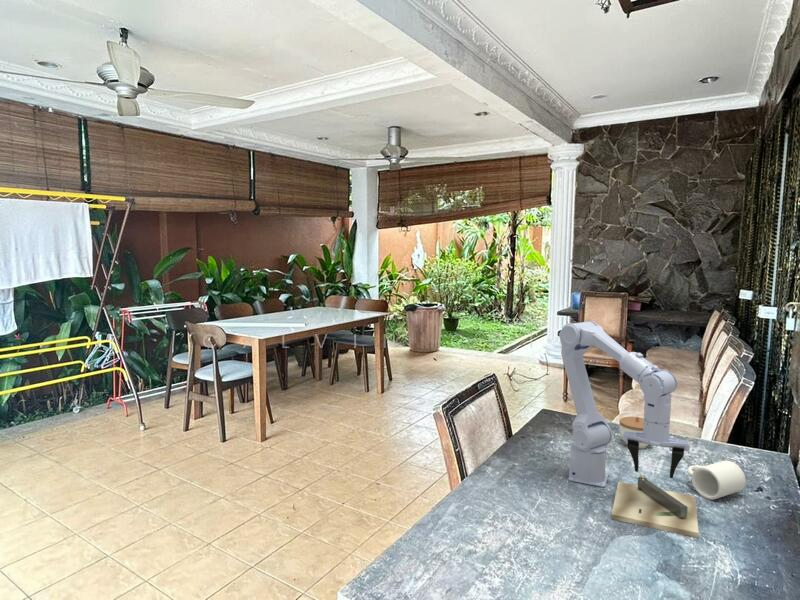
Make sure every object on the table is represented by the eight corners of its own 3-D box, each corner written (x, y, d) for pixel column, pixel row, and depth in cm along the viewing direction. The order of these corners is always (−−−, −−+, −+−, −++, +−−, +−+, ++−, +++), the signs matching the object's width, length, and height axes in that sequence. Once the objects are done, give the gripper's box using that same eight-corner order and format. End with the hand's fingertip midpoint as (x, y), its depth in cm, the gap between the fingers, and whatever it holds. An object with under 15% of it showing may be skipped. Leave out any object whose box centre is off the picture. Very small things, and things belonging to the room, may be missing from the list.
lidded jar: (658, 444, 168) (660, 416, 167) (648, 454, 160) (650, 425, 159) (624, 436, 175) (625, 409, 174) (613, 445, 167) (614, 417, 166)
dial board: (611, 518, 122) (611, 513, 122) (617, 485, 139) (618, 481, 139) (698, 538, 114) (698, 532, 114) (694, 500, 131) (694, 495, 131)
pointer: (679, 518, 119) (680, 504, 119) (635, 487, 135) (636, 474, 135) (688, 517, 120) (688, 503, 120) (643, 486, 136) (643, 474, 135)
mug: (745, 496, 133) (747, 467, 132) (720, 505, 129) (722, 474, 128) (701, 478, 144) (702, 450, 143) (676, 485, 139) (678, 457, 139)
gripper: (622, 420, 125) (620, 473, 126) (691, 430, 118) (687, 486, 120) (625, 411, 131) (622, 462, 133) (690, 421, 124) (687, 474, 126)
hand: (653, 473), depth 127 cm, fingers open, 7 cm apart
